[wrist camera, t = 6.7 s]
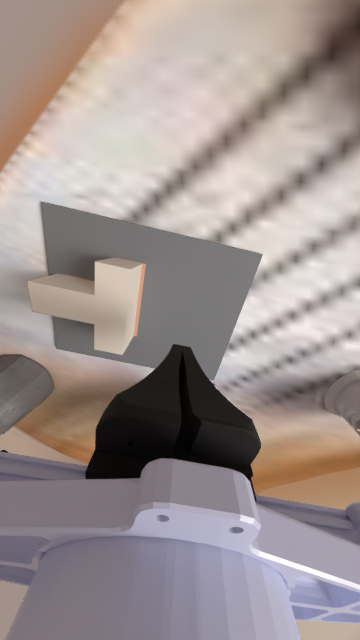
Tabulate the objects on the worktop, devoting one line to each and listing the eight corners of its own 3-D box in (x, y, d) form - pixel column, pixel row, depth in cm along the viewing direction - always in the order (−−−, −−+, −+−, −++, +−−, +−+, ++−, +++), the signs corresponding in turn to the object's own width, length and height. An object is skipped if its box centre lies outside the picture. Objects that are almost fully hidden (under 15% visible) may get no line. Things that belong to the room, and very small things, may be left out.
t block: (133, 336, 22) (122, 355, 18) (61, 321, 21) (36, 337, 18) (141, 264, 18) (130, 269, 15) (55, 244, 18) (21, 244, 14)
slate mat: (213, 378, 25) (214, 380, 24) (58, 347, 24) (56, 348, 23) (261, 254, 18) (263, 254, 17) (44, 202, 17) (40, 201, 16)
